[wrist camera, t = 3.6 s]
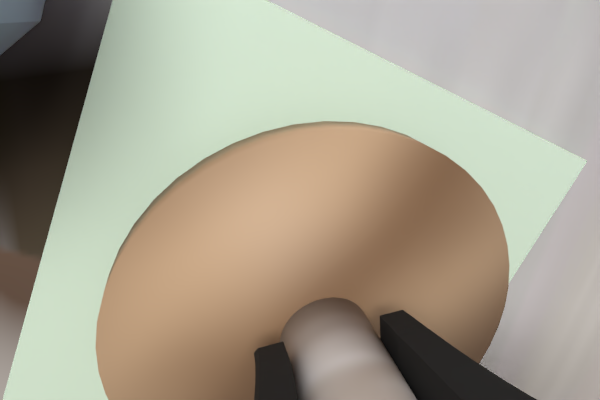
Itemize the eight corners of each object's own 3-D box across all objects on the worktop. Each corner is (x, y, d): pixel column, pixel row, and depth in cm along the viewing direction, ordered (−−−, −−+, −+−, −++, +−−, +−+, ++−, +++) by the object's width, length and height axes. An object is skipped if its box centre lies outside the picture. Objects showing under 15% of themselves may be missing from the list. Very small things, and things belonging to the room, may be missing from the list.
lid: (557, 197, 12) (779, 307, 8) (388, 465, 15) (476, 658, 11) (183, 41, 8) (183, 76, 4) (54, 444, 11) (-33, 738, 7)
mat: (579, 158, 14) (587, 160, 13) (384, 465, 18) (387, 472, 17) (133, -66, 9) (131, -68, 8) (-7, 439, 12) (-11, 448, 12)
